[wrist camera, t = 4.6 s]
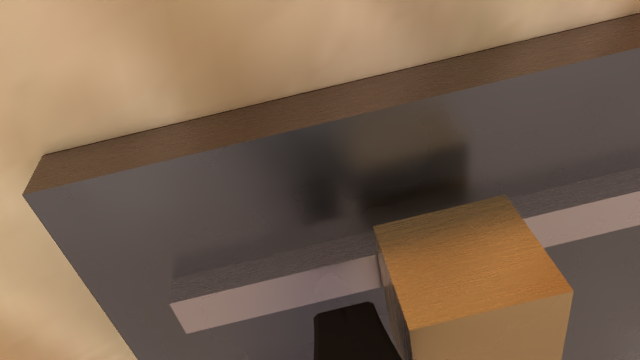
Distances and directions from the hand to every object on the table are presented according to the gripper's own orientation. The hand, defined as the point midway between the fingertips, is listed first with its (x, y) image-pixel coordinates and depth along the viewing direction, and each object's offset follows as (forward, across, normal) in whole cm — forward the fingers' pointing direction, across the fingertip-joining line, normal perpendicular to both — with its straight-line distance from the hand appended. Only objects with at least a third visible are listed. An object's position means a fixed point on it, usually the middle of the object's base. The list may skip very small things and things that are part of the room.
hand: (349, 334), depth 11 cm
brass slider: (+2, -3, +2) cm, 4 cm away
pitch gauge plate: (+4, -7, +3) cm, 9 cm away
